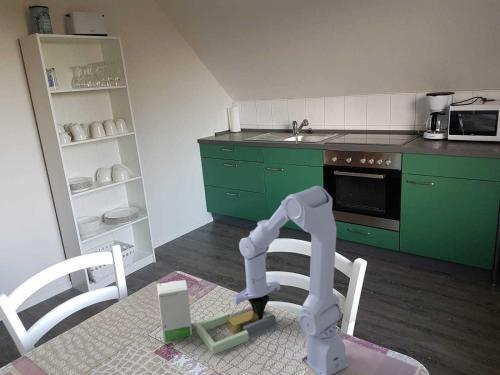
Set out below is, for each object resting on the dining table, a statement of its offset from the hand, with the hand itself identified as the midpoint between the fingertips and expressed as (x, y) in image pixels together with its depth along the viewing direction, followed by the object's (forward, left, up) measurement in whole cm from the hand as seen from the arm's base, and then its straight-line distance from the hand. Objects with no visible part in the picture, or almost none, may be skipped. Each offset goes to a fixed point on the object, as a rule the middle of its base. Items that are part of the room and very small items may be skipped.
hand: (258, 317), depth 116 cm
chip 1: (0, +7, -1) cm, 7 cm away
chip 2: (0, +3, -1) cm, 3 cm away
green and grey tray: (0, +7, -2) cm, 7 cm away
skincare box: (+9, +22, -2) cm, 24 cm away
